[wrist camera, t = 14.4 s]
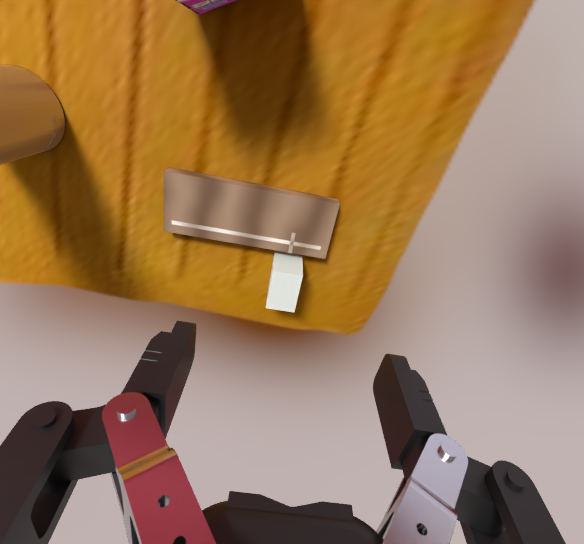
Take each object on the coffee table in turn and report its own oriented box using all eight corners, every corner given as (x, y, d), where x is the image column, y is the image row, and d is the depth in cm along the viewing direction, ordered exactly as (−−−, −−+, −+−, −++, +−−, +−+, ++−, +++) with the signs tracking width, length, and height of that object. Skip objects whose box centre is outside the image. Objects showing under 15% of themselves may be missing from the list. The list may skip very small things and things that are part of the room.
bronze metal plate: (169, 225, 47) (163, 231, 45) (169, 167, 43) (163, 171, 41) (324, 252, 49) (325, 259, 47) (338, 199, 45) (339, 204, 43)
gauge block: (268, 285, 52) (265, 308, 47) (274, 249, 49) (272, 270, 44) (294, 289, 52) (294, 313, 47) (302, 254, 49) (302, 275, 44)
